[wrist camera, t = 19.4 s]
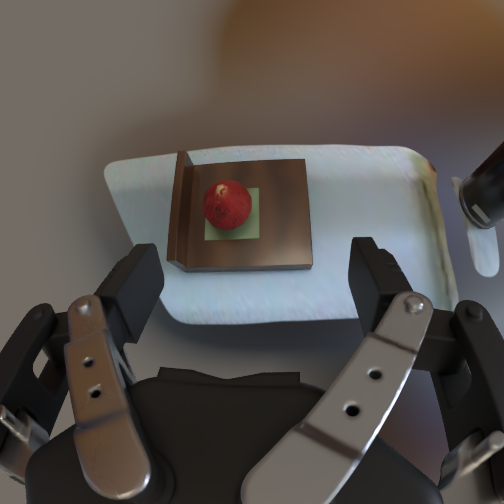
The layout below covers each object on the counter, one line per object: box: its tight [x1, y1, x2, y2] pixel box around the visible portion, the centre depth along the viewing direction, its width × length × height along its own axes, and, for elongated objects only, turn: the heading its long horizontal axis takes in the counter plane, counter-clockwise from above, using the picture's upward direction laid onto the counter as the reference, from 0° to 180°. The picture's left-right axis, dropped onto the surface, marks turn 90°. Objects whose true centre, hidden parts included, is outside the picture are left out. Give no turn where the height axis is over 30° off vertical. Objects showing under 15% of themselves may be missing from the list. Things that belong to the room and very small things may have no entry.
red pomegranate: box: [202, 180, 252, 230], centre depth 34 cm, size 6×6×8 cm
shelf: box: [167, 151, 313, 272], centre depth 37 cm, size 17×15×7 cm
